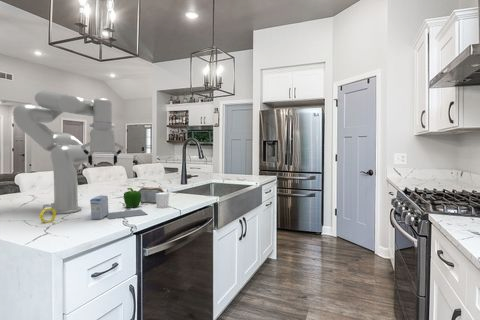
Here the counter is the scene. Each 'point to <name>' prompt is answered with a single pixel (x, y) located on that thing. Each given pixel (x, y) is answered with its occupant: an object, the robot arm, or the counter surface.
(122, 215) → the mat
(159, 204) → the shot glass
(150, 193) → the grey curved block
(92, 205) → the medicine box
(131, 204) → the bell pepper
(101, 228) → the counter surface
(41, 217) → the yellow ring
